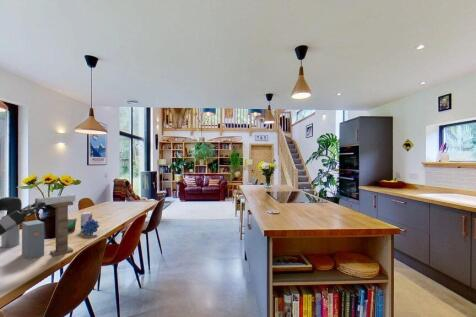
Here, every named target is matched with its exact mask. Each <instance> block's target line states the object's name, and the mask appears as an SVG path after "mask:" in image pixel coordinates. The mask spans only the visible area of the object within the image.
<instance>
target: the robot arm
mask: <svg viewBox="0 0 476 317" xmlns="http://www.w3.org/2000/svg"><path fill="white" fill-rule="evenodd" d="M45 206H47V205H46V204H45V203H44V202H43V203H41V204H39V205H38V206H36V205H35V202H33V203H32V204H28V205H26V206H24V207H23V208H22V200H21V199H20V197H17V196H16V197H15V196H8V197H7V196H6V197H2V198H0V212H2V211H6V215H3V216H2V217H1V219H0V236H1V237H0V238H1V239H0V240H1V241H0V243H1V244H0V247H1V248H11V247H15V246H18V245H20V225H22V222H26V217H27V218H29V217H31V216H33V215H35V214H36V213H38V212H40V209H42V208H44V207H45Z"/></svg>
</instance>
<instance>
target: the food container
mask: <svg viewBox="0 0 476 317" xmlns="http://www.w3.org/2000/svg"><path fill="white" fill-rule="evenodd" d="M77 221H78V219H77V218H72V219H71V218H68V233H69V232H75V231H76V226H77V225H76V224H77Z"/></svg>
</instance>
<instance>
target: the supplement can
mask: <svg viewBox="0 0 476 317" xmlns="http://www.w3.org/2000/svg"><path fill="white" fill-rule="evenodd" d="M91 220H93V213H92V212H91V211H89V212H88V211H86V212H82V213H81V215H80V232H81V233H83V232H82V230H83V229H84V228H83V225H85V224H86V222H87V221H91Z"/></svg>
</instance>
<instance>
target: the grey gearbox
mask: <svg viewBox="0 0 476 317" xmlns="http://www.w3.org/2000/svg"><path fill="white" fill-rule="evenodd" d="M21 255H22V256H23V257H25V258H26V259H28V260H30V259H33V258H39V257H41V256H44V255H45V222H44V221H41V220H39V219H35V220H30V221H24V222H22V223H21Z"/></svg>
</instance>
